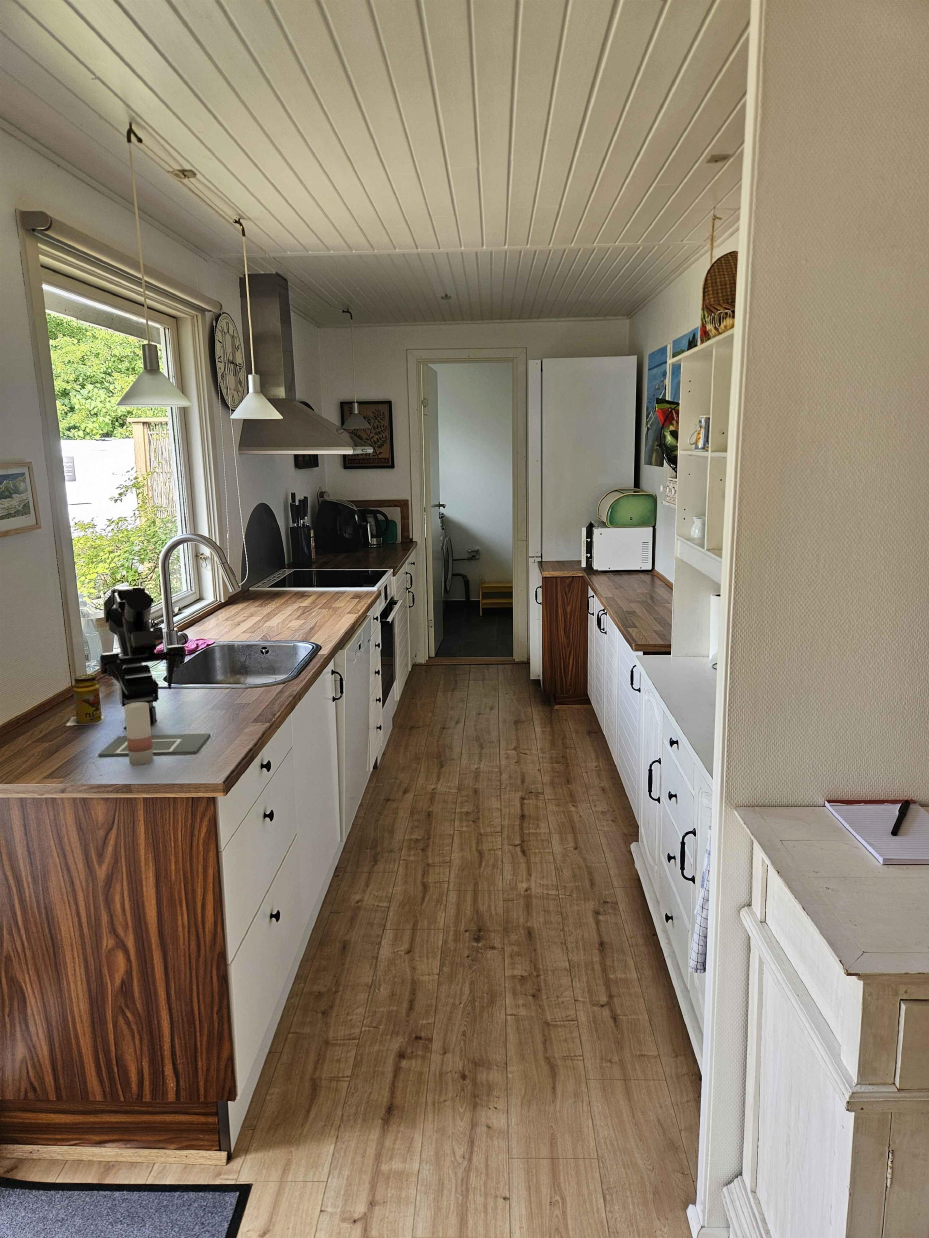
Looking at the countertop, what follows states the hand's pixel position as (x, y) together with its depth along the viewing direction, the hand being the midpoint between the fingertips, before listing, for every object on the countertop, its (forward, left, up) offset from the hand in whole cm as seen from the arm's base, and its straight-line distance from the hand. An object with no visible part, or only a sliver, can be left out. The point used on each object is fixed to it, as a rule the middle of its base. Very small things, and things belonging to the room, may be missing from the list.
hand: (149, 691), depth 193 cm
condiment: (-25, +25, -14) cm, 38 cm away
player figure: (0, -8, -14) cm, 16 cm away
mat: (0, +2, -14) cm, 14 cm away
